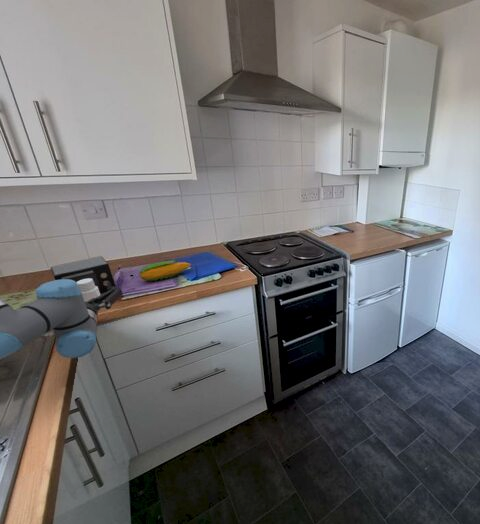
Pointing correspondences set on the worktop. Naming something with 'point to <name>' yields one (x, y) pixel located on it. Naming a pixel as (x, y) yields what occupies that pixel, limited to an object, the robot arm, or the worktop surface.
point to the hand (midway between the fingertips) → (84, 290)
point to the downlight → (88, 289)
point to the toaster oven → (86, 272)
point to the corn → (162, 270)
